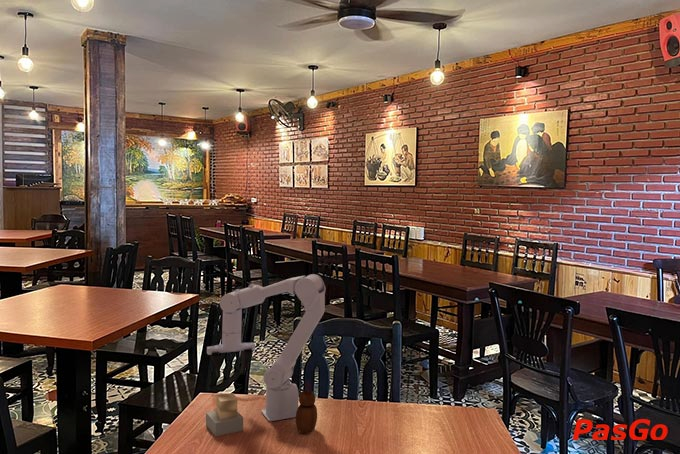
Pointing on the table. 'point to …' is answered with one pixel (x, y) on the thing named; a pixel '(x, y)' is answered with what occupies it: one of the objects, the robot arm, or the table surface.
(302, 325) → the robot arm
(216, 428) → the slate base block
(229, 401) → the maple cube
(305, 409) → the wooden figurine
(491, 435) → the table surface
